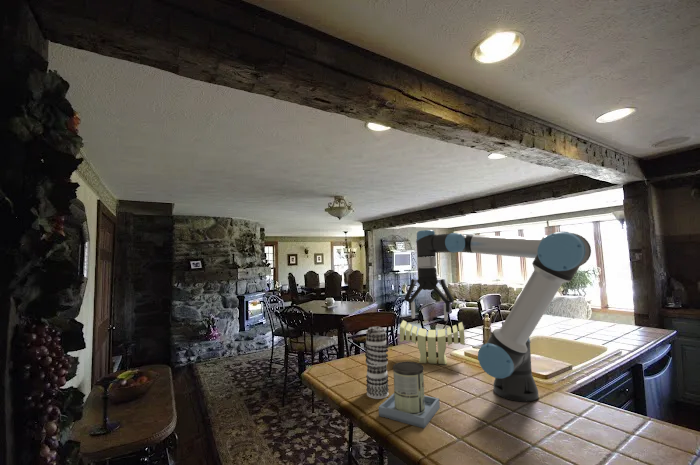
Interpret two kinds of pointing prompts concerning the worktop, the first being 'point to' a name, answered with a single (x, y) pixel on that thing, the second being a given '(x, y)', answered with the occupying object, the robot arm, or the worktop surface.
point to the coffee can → (409, 387)
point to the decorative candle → (376, 363)
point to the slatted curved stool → (432, 341)
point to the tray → (417, 420)
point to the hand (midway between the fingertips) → (429, 319)
